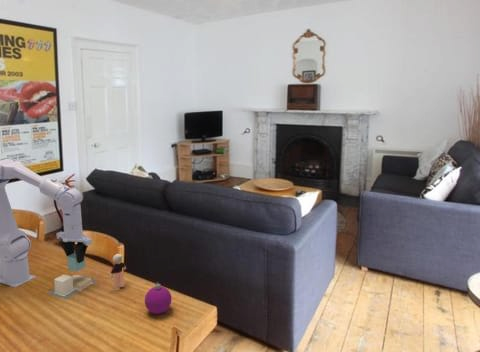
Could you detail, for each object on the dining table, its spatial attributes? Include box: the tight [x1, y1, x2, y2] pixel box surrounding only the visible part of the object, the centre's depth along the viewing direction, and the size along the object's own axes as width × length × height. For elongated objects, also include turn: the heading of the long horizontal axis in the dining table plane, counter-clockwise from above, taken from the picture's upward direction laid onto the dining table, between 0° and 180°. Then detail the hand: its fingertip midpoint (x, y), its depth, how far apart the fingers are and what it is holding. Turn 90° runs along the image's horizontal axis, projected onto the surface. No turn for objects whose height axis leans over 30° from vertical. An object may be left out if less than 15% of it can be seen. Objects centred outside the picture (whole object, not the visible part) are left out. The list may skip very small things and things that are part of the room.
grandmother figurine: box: [109, 253, 127, 292], centre depth 127 cm, size 8×4×13 cm, turn 168°
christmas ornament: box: [144, 282, 172, 315], centre depth 114 cm, size 8×8×10 cm
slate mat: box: [47, 275, 99, 300], centre depth 128 cm, size 9×14×1 cm, turn 156°
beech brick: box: [71, 274, 92, 291], centre depth 129 cm, size 8×5×2 cm, turn 66°
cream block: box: [53, 273, 74, 296], centre depth 124 cm, size 4×4×5 cm
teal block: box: [66, 252, 86, 273], centre depth 128 cm, size 4×4×5 cm
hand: (75, 260), depth 127 cm, fingers closed on teal block, 4 cm apart
